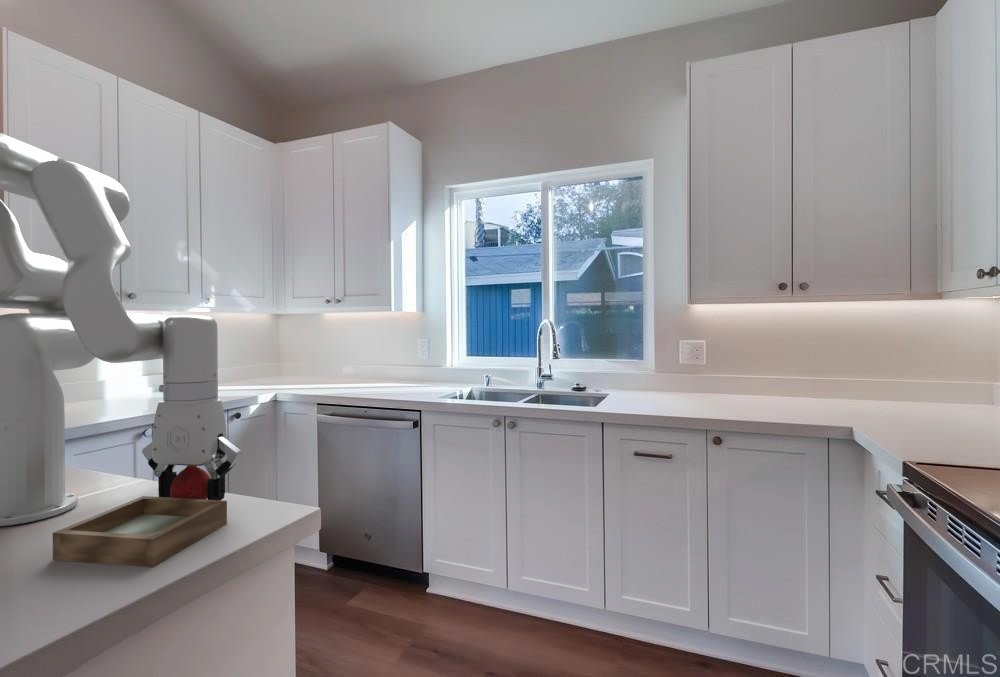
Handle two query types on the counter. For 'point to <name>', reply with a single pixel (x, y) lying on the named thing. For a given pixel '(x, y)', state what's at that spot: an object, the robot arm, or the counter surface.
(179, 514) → the tray
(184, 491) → the dark red round piece
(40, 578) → the counter surface
